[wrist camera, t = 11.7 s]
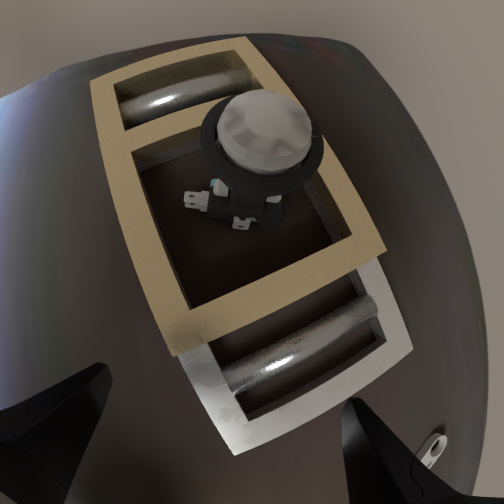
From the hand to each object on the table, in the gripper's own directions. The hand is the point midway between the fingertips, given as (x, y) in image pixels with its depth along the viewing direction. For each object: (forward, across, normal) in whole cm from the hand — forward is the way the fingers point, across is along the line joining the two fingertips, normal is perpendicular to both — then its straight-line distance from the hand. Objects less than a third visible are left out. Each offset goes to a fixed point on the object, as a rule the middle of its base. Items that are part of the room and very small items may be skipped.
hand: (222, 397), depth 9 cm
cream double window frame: (+13, +1, -4) cm, 14 cm away
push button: (+13, +2, -4) cm, 14 cm away
